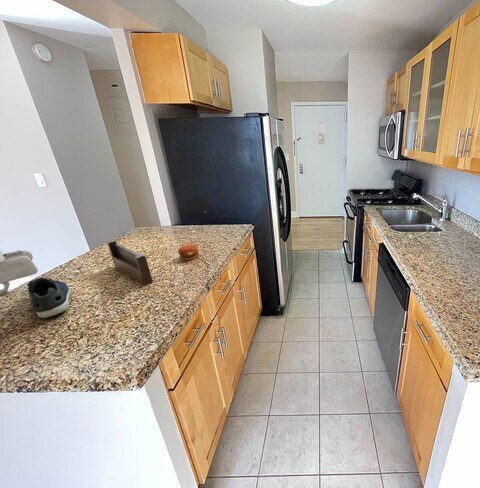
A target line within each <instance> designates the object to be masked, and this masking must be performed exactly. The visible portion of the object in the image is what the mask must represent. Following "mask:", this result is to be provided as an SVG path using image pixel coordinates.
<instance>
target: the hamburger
mask: <svg viewBox="0 0 480 488" xmlns="http://www.w3.org/2000/svg"><path fill="white" fill-rule="evenodd" d="M200 249H202V247H200V246H198V245H196V244H192V243H189V244H185V245H181V246H180V247H179V248H178V250H177V251H176V252H175V254H178V255H179V259H180V260H181V261H192V260H195V259H198V258H199V257H200V253H199V250H200Z"/></svg>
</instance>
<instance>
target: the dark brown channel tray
mask: <svg viewBox="0 0 480 488" xmlns="http://www.w3.org/2000/svg"><path fill="white" fill-rule="evenodd" d="M106 245H107V247H108V250H109V253H110V255H111V258H112V262H113V265H114V267H115V268H117V269H118V270H119V271H121V272H123V273H124V274H126V275H128V276H129V277H131V278H132V279H134V280H136V281H137V282H139V283H141V284H142V285H144V286H147V285H151V284H152V283H154V281H153V277H152V274H151V271H150V267H149V264H148V260H147V257H146V255H145V254H140V253H138V252H136V251H134V250H131V249H130V248H127V247H125V246H124V245H122V244H120V243H118V241H117V240H115V239H114V240H110V241H107V242H106Z"/></svg>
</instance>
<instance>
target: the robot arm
mask: <svg viewBox="0 0 480 488" xmlns="http://www.w3.org/2000/svg"><path fill="white" fill-rule="evenodd" d="M33 259H34V257H33V254H32V253H31V251H29V250H23V249H20V250H16V251H11V252H7V253H3V251H2V249H1V248H0V285H2V286H3V289H0V298H1V297H4V296H8V295H10V292H9V288H10V285H11V284H10V282H12V281H16V280H20V279H23V278H26V277H29V276H33V275H37V274H38V272H39V269H38V267H37V266H36V264H35V262H34V261H33Z"/></svg>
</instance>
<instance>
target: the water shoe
mask: <svg viewBox="0 0 480 488" xmlns="http://www.w3.org/2000/svg"><path fill="white" fill-rule="evenodd" d="M27 292H28V295H29V298H30V301H31V305H32V307H33V310H35V312H36V314H37V315H36V316H38V317H39V318H41V319H50V318H54V317H57V316H60V315H62V314H63V313H64V312H66V311H67V310H68V309H69V307H70V306H69V305H70V303H69V299H70V295H71V288H70V287H69V285H68V284H67V283H65V282H63V281H60V280H53V279H52V278H50V277H47V276H43V277H38V278H36V279H32V280H30V281H29V282H27Z"/></svg>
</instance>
